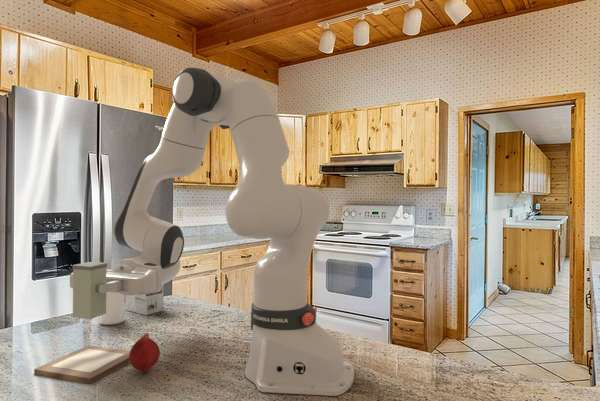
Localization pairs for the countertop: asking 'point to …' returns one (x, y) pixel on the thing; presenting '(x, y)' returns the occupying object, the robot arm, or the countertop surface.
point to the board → (85, 364)
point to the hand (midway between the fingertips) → (86, 288)
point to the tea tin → (88, 290)
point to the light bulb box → (145, 303)
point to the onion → (144, 354)
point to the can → (113, 309)
